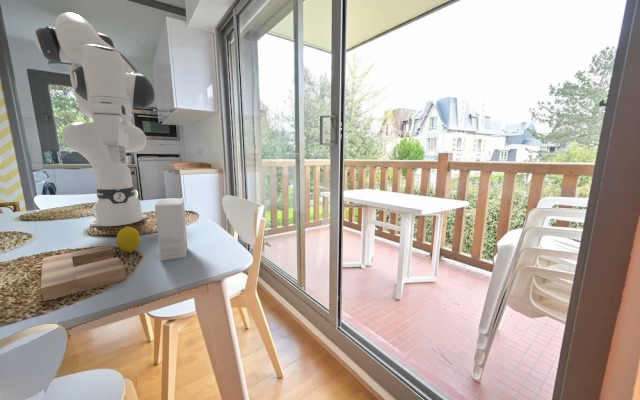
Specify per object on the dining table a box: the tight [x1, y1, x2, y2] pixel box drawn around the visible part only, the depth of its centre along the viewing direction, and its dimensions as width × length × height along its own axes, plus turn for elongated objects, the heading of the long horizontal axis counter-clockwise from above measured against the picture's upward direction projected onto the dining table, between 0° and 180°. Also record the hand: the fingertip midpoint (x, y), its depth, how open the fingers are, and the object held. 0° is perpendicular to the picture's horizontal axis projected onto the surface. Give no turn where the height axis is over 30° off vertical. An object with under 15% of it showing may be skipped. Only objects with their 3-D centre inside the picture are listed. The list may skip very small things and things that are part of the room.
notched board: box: [40, 244, 127, 302], centre depth 61 cm, size 20×13×3 cm, turn 46°
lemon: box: [115, 225, 142, 254], centre depth 74 cm, size 6×6×8 cm
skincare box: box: [154, 197, 188, 262], centre depth 72 cm, size 8×7×16 cm
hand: (119, 163), depth 71 cm, fingers open, 8 cm apart
